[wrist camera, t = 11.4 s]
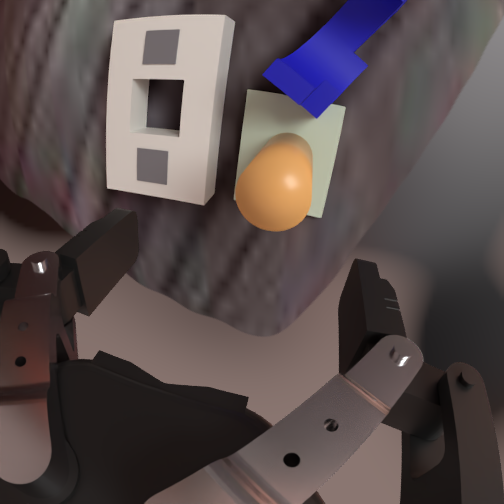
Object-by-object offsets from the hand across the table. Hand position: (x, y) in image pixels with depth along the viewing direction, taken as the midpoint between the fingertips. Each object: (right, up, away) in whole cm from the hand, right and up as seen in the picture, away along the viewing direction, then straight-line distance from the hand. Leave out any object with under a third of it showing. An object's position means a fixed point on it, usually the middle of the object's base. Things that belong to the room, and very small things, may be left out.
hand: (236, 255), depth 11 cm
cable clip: (+8, +16, +9) cm, 20 cm away
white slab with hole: (-7, +13, +15) cm, 21 cm away
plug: (+4, +8, +14) cm, 17 cm away
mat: (+4, +8, +15) cm, 18 cm away
